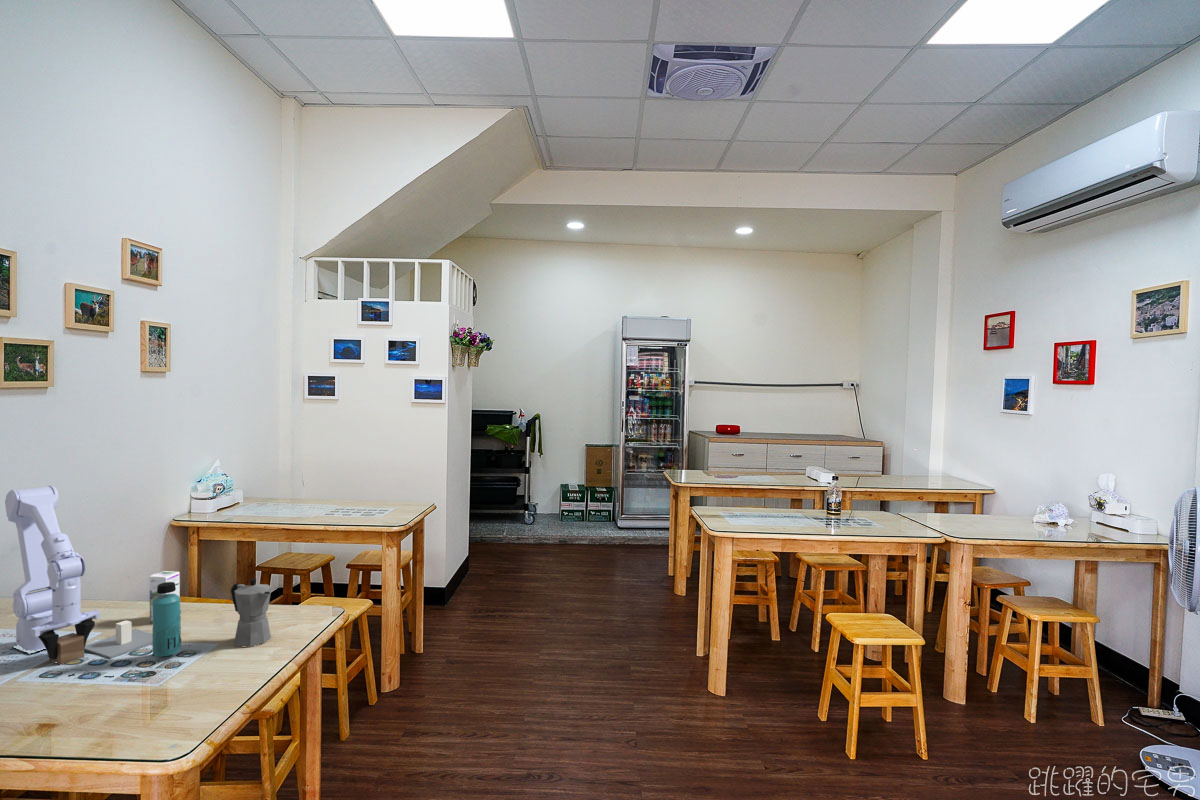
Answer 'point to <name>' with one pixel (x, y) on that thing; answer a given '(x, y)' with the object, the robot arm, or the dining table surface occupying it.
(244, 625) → the coffeepot
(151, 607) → the syrup box
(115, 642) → the flat grey base plate
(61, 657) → the brown shipping carton
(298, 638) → the dining table surface
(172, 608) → the beverage bottle
